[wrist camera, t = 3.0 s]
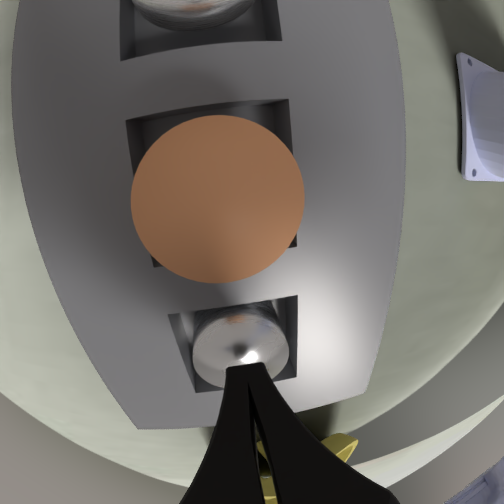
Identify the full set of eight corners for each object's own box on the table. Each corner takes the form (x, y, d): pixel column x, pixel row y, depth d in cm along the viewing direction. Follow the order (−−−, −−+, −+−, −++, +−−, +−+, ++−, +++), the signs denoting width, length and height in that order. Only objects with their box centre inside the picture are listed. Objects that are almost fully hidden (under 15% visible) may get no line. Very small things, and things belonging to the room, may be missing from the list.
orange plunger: (275, 114, 8) (299, 108, 6) (283, 236, 9) (306, 270, 7) (141, 132, 7) (117, 132, 5) (164, 253, 9) (152, 292, 7)
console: (333, -61, 6) (357, -86, 4) (347, 360, 17) (365, 392, 15) (58, -30, 5) (34, -51, 2) (142, 393, 16) (137, 429, 13)
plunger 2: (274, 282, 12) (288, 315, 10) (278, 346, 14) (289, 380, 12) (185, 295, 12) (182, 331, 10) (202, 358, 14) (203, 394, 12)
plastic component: (332, 480, 25) (268, 524, 21) (296, 446, 31) (234, 485, 26) (371, 421, 16) (254, 511, 11) (303, 365, 21) (194, 431, 16)
